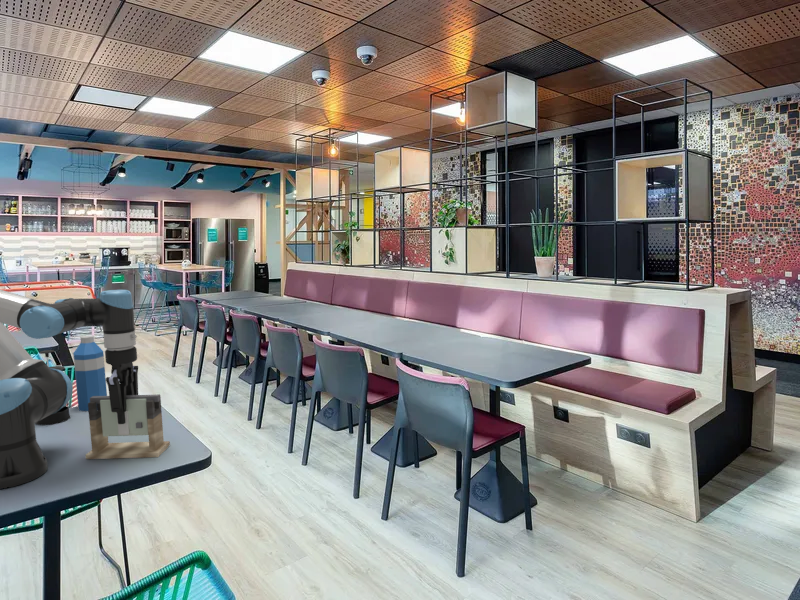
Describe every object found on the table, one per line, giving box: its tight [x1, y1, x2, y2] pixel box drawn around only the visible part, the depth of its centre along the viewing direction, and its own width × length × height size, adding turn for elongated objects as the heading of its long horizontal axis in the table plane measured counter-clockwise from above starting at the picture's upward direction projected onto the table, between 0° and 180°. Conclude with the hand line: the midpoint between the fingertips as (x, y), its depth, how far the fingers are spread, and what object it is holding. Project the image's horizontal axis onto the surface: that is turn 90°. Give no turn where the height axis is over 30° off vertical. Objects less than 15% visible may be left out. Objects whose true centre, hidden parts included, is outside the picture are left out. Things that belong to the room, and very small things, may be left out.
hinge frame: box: [84, 396, 171, 460], centre depth 144 cm, size 19×8×15 cm, turn 92°
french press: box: [35, 349, 71, 426], centre depth 170 cm, size 12×9×23 cm
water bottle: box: [72, 335, 108, 412], centre depth 183 cm, size 9×9×25 cm
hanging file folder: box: [90, 393, 161, 437], centre depth 144 cm, size 18×4×11 cm, turn 92°
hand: (127, 431), depth 144 cm, fingers closed on hanging file folder, 3 cm apart
